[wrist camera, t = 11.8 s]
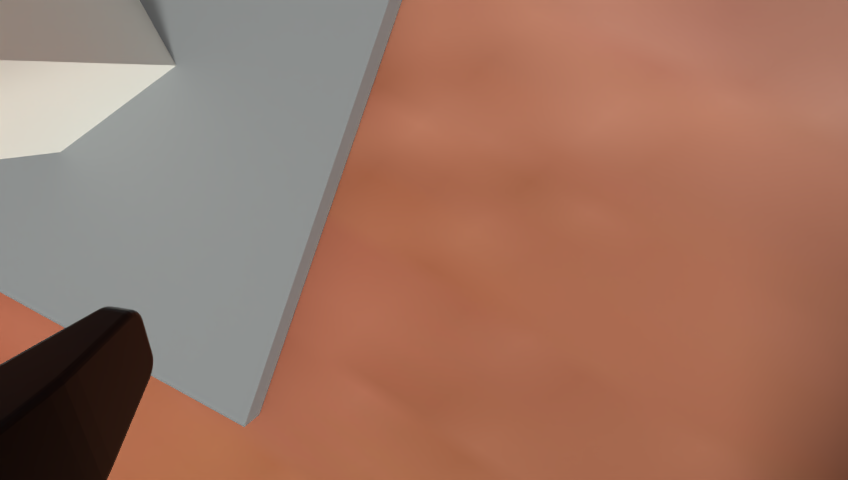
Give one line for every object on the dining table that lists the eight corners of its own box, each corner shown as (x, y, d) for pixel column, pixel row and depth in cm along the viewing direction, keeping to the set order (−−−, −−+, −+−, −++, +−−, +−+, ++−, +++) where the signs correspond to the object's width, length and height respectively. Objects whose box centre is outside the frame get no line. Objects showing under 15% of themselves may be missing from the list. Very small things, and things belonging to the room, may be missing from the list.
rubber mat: (259, 414, 21) (244, 427, 21) (-156, 188, 24) (-182, 191, 24) (465, -183, 16) (455, -196, 16) (-85, -369, 20) (-115, -387, 19)
